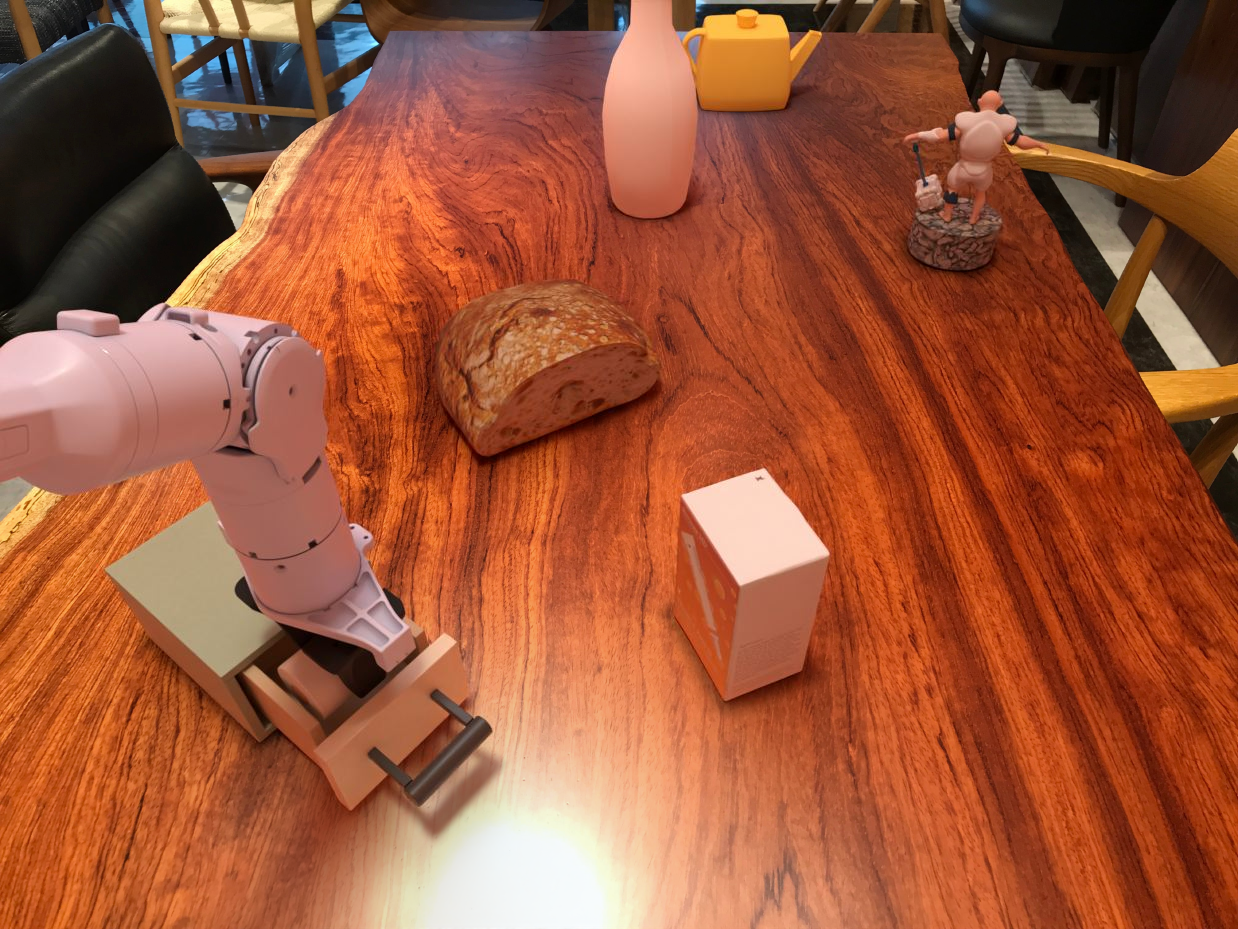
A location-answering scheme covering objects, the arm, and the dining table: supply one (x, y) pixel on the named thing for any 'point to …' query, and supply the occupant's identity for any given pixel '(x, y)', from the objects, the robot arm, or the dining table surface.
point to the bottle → (650, 115)
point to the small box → (747, 581)
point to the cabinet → (199, 609)
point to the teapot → (746, 61)
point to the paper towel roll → (313, 685)
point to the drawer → (375, 719)
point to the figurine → (950, 223)
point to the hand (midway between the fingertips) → (345, 664)
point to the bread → (539, 361)
